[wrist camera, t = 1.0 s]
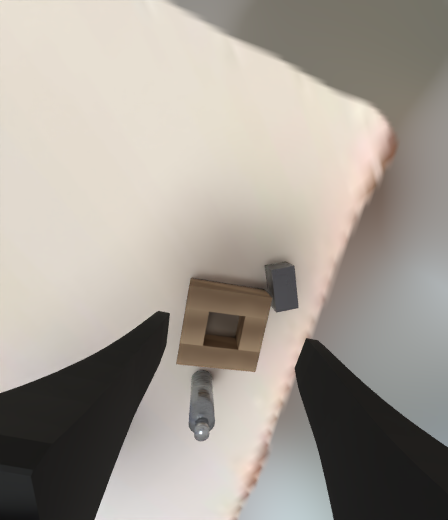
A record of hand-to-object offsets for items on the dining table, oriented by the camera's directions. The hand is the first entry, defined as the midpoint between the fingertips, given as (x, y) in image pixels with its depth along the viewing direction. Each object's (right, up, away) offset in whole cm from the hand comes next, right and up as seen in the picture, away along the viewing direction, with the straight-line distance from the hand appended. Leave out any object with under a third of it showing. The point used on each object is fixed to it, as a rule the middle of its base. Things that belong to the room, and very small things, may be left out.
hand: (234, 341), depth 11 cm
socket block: (-1, -3, +15) cm, 15 cm away
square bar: (+6, +1, +15) cm, 16 cm away
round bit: (-3, -11, +16) cm, 20 cm away
